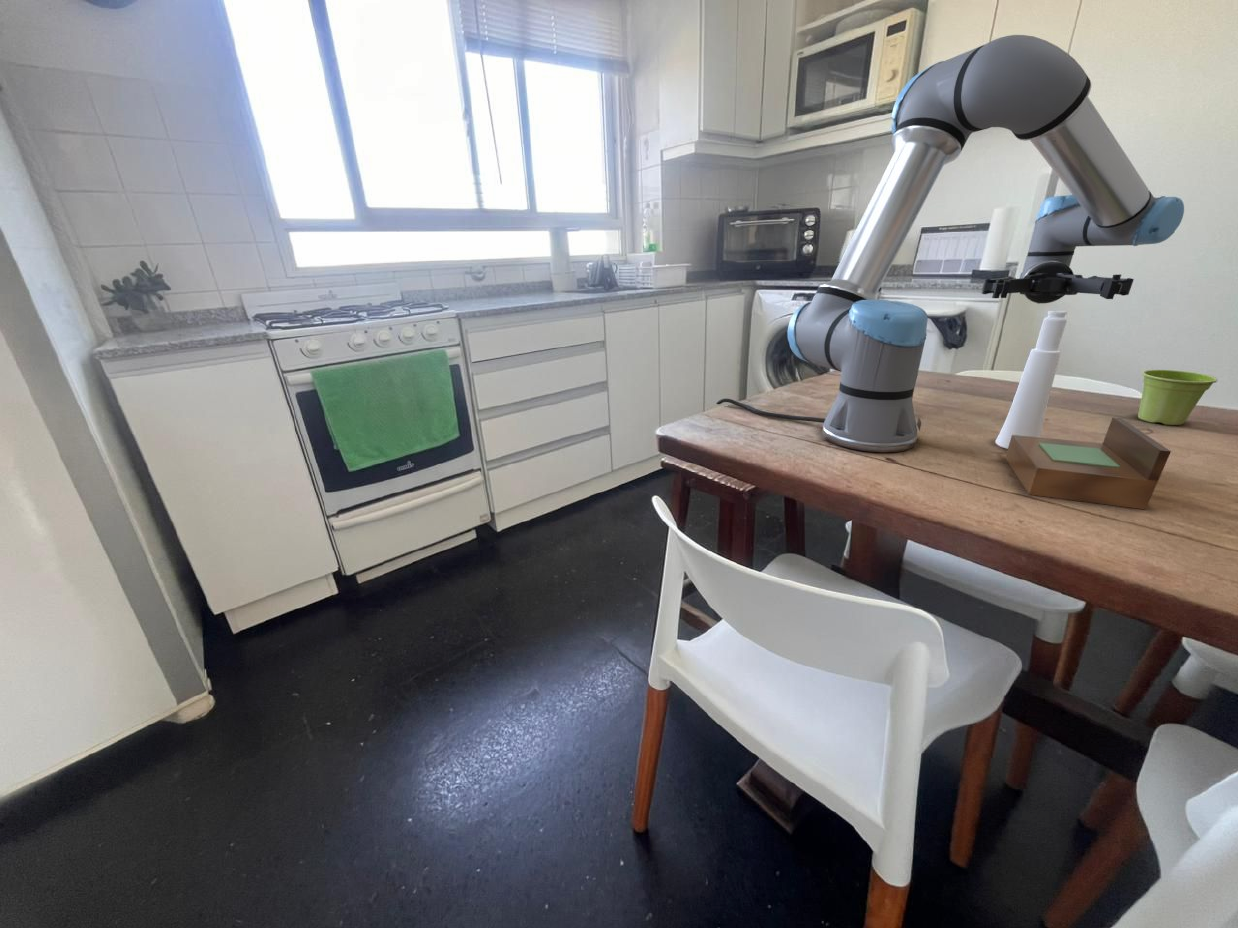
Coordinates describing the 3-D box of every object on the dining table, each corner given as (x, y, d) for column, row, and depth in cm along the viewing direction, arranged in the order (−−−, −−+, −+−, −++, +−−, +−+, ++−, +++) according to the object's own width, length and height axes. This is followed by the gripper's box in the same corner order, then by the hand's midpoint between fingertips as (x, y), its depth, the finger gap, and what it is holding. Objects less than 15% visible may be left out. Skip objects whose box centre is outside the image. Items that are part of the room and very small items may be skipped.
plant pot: (1213, 428, 88) (1235, 380, 85) (1159, 429, 88) (1179, 382, 85) (1161, 412, 97) (1179, 369, 93) (1112, 414, 97) (1128, 370, 94)
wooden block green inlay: (1028, 494, 67) (1046, 439, 64) (1004, 458, 79) (1019, 410, 76) (1145, 509, 62) (1171, 451, 59) (1102, 468, 74) (1121, 417, 71)
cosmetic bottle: (1049, 450, 81) (1095, 312, 73) (1018, 453, 80) (1060, 314, 72) (1015, 438, 87) (1054, 308, 78) (986, 441, 86) (1022, 310, 77)
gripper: (1126, 303, 92) (1153, 316, 76) (966, 301, 105) (961, 311, 89) (1141, 259, 89) (1173, 263, 73) (974, 263, 102) (971, 267, 86)
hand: (1056, 290), depth 81 cm, fingers open, 13 cm apart
